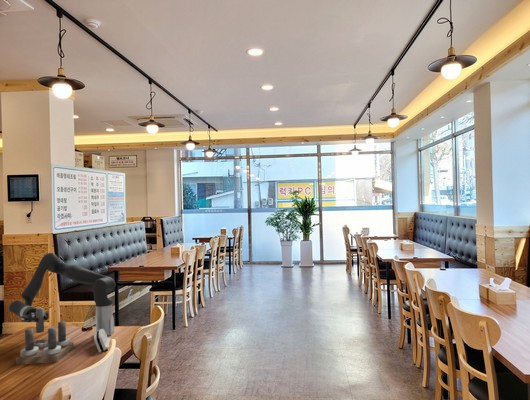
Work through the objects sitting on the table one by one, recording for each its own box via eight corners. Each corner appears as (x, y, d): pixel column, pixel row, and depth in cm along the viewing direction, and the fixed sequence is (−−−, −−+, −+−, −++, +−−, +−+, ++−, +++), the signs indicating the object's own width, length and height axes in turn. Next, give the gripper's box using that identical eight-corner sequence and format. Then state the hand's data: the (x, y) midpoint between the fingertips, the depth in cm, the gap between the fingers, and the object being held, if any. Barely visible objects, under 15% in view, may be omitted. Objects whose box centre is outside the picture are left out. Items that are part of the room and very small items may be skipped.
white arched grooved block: (109, 351, 198) (102, 333, 197) (100, 355, 197) (92, 337, 196) (111, 340, 214) (104, 324, 213) (102, 344, 213) (96, 328, 212)
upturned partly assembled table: (73, 347, 204) (73, 319, 204) (57, 362, 185) (57, 331, 185) (36, 349, 202) (36, 321, 203) (16, 364, 184) (15, 333, 184)
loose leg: (45, 330, 201) (45, 307, 201) (41, 332, 197) (41, 309, 197) (38, 330, 201) (38, 307, 201) (34, 333, 197) (34, 309, 197)
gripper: (15, 309, 203) (26, 315, 192) (44, 304, 214) (56, 309, 203) (15, 323, 203) (26, 330, 192) (44, 317, 214) (56, 323, 203)
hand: (42, 319), depth 197 cm, fingers closed on loose leg, 3 cm apart
